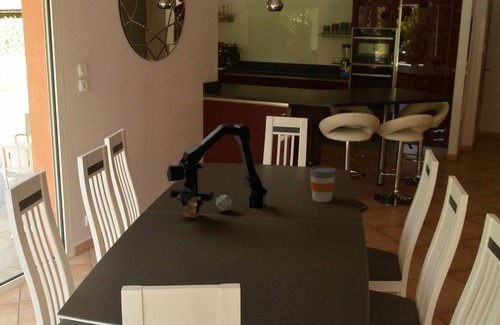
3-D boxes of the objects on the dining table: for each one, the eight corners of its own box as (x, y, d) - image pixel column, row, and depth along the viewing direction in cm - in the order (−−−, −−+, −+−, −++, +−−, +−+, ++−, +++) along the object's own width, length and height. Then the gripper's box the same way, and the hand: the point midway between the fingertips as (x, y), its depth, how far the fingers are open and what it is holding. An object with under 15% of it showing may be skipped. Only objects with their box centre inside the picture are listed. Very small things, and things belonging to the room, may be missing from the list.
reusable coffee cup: (334, 195, 272) (335, 166, 269) (335, 203, 260) (337, 172, 257) (308, 194, 274) (309, 165, 270) (308, 202, 261) (310, 172, 258)
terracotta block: (199, 214, 244) (199, 203, 243) (195, 218, 239) (195, 207, 238) (189, 213, 245) (189, 202, 244) (184, 216, 241) (184, 205, 239)
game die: (219, 219, 248) (206, 203, 246) (228, 208, 254) (215, 191, 252) (232, 214, 242) (218, 197, 240) (241, 202, 248) (228, 185, 246)
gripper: (163, 181, 234) (164, 216, 237) (204, 186, 228) (204, 221, 232) (175, 175, 244) (176, 208, 248) (214, 179, 238) (214, 213, 242)
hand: (192, 213), depth 242 cm, fingers closed on terracotta block, 5 cm apart
